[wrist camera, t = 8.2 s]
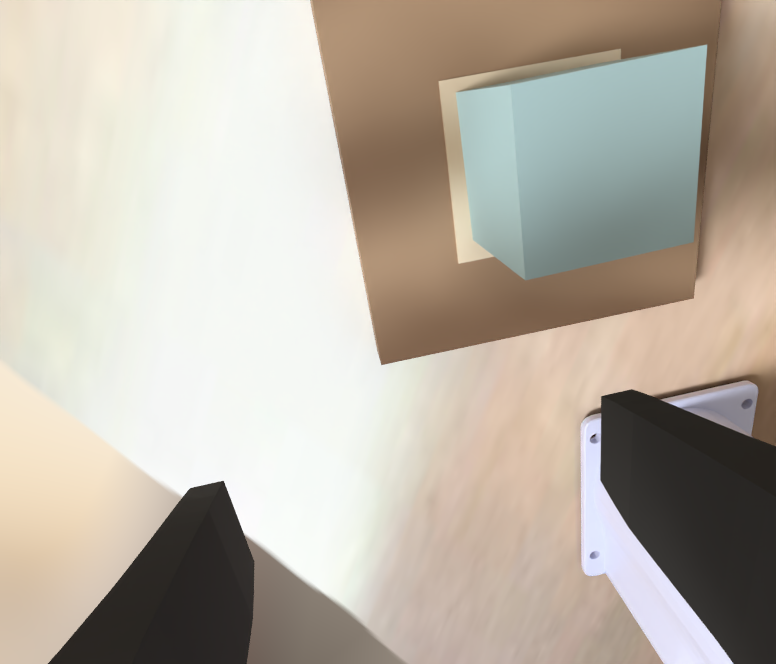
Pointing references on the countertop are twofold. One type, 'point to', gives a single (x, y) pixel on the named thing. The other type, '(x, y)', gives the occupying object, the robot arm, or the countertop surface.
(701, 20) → the plate
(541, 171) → the teal cube
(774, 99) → the countertop surface
